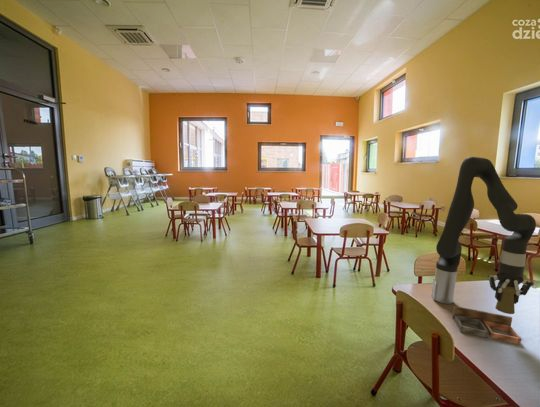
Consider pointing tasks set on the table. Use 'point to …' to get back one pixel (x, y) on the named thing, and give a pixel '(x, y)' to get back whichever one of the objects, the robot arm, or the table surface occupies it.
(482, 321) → the shaker rack
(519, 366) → the table surface
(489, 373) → the table surface
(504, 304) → the cork
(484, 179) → the robot arm
